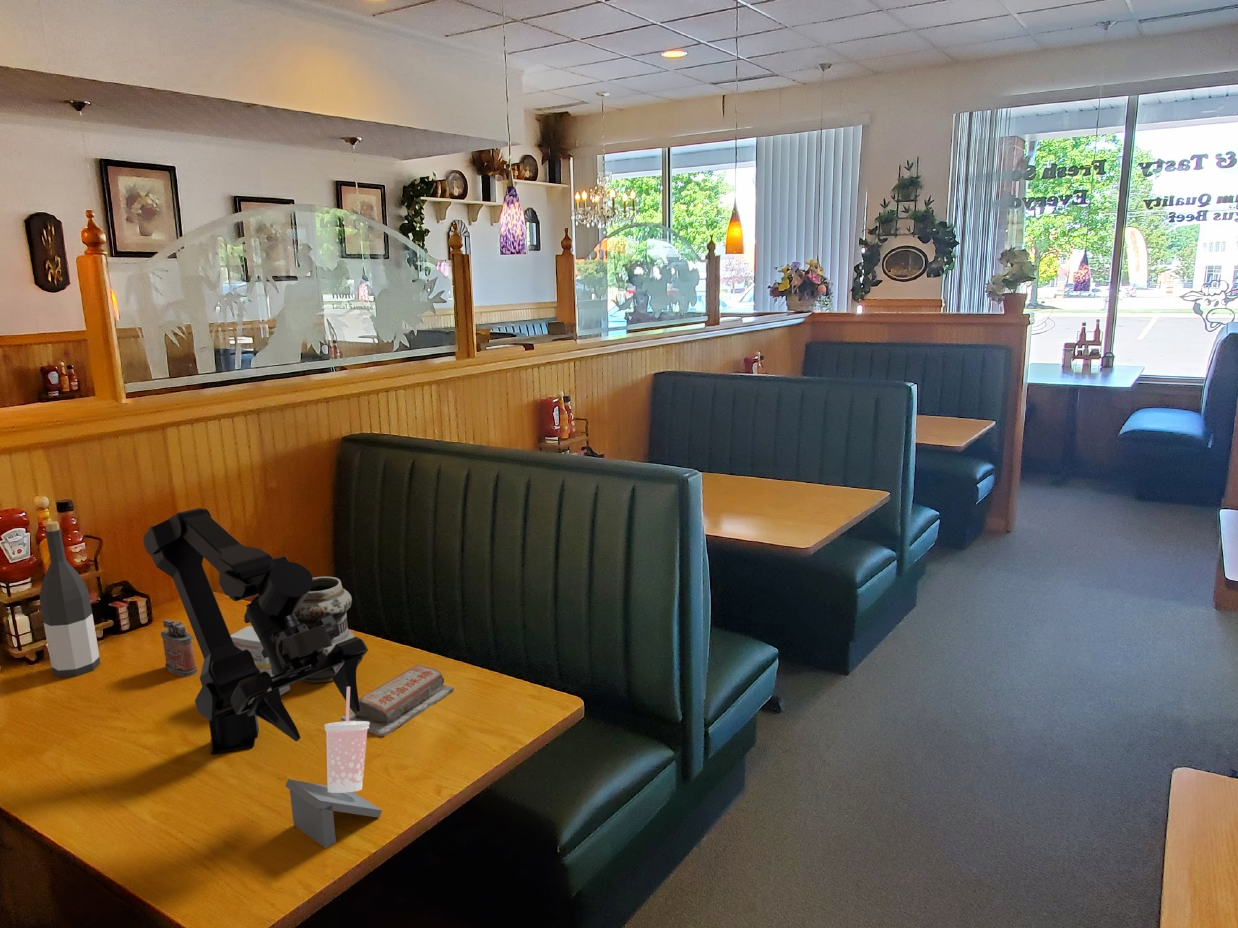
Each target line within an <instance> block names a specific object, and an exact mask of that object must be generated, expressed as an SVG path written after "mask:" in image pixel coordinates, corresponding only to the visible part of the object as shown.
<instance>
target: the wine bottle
mask: <svg viewBox="0 0 1238 928" xmlns="http://www.w3.org/2000/svg"><path fill="white" fill-rule="evenodd" d="M44 534H45V537H46V543H47V548H48V553H49V560H50V563H49V565H48V568H47V570H46V572H45V574H44V576H43V579H42V582H41V586H40V587H41V588H40V590H39V591H40V592H39V593H40V594H39V605H40V610H41V611H40V612H41V615H42V621H43V622H42V623H43V626H44V633H45V637H46V644H47V648H48V654H49V660H50V661H49V662H50V666H51V667H50V668H51V671H52V673H53V675H55V676H57V677H58V678H72V677H74V678H75V677H78V676H81V675H84V674H87V673H91V672H93V671H95V670H96V668H97V667H98V666H99V665H100V664H101V659H100V651H99V647H98V646H99V645H98V640H97V639H98V638H97V634H96V628H95V622H94V616H93V609H92V603H91V597H90V593H89V590H88V587H87V585H86V583H85V580H84V579H83V578H82V576H81V575H80V574H79V572H78V571H77V570H76V569H75V568H74V567H73V566H72V565H71V564H70V563H69V561H68V560H67V557H66V553H65V546H64V541H63V536H62V528H60V524H59V522H58V521H48V522H46V523H45V531H44Z"/></svg>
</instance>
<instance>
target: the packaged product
mask: <svg viewBox="0 0 1238 928" xmlns="http://www.w3.org/2000/svg"><path fill="white" fill-rule="evenodd" d="M444 683H445V678H444V676H443V673H442V671H440V670H439V669H438V668H436V667H435V668H434V667H429V666H428V665H423V664H416V665H414V666H412V667H411V668H409V669H407V670H406V671H404V672H402V673H401V674H399V675H396V677H394V678H392V679H390V680H388V681H387V682H385V683H383V684H381V685H380V686H378V687H377V688H375V689H373V690H372V691H369V693H367V694H365V695H363V696H361V697H358V699H359V706H360V712H359V713H358V714H355V713H354V712H353V711H352V710H351V711H349V721H367V722H370V725H369V728H368V729H367V733H370V734H372V735H375V736H378V735H379V736H378V737H383V736H385V737H386V735H387V736H388V735H390V734H391V733H393V732H394V731H395V730H397V729H398V728H399V727H401V726H403V725H405V724H406V723H407V722H409V721H411V720H412V719H414V718H415V717H417V716H418V715H420V714H421V713H422V714H423V712H424V711H425V712H426V711H427V710H428V709H430V708H431V707H433V705H435V704H436V703H438V702H439V701H441V700H442V699H443V698H445V697H447V696H448V695H450V694H451V693H453V692H454V691H455V687H452V686H450V685H445V684H444ZM429 707H430V708H429ZM426 709H427V710H426ZM340 720H341V721H346V714H345V715H342V716H341V717H340ZM389 733H390V734H389Z"/></svg>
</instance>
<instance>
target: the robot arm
mask: <svg viewBox="0 0 1238 928" xmlns="http://www.w3.org/2000/svg"><path fill="white" fill-rule="evenodd" d="M143 546H144V549H145V551H146V553H147V554H148V555H150V556H151V559H152V560H153V563H154V565H155V567H156V568H157V569H159V570H160V571H162V572H163V573H165V574H166V575H168V576H169V577H171V578H172V580H173V583H174V585H175V589H176V590H177V592H178V595H179V598H180V601H181V603H182V605H183V607H184V611H185V612H186V616H187V619H188V620H189V623H190V627H191V628H192V631H193V634H194V636H195V638H196V642H197V644H198V647H199V650H200V652H201V654H202V657H203V663H202V667H201V670H200V674H199V675H200V677H199V681H200V683H201V688H200V690H199V692H198V694H197V695H196V698H195V699H194V703H195V708H196V710H197V711H196V712H197V713H198V714H199V715H201V716H202V717H203V718H205V719H207V721H208V725H209V732H210V738H211V739H210V741H211V747H210V754H212V755H215V754H220V753H221V754H222V753H226V752H227V753H228V752H233V751H238V750H244V749H250V748H253V747H255V743H256V739H257V738H258V737H259V733H260V726H259V720H258V717H259V718H260V719H262V720H263V721H265V722H267V723H269V724H271V725H272V726H273V727H276V728H277V729H278V730H279V731H281V732H282V733H283V734H285V735H286V736H287V737H289V738H290V739H291V740H293V741H295V742H299V741H300V739H301V735H300V733H299V730H298V728H297V725H296V724H295V722H294V720H293V718H292V717H291V715H290V713H289V712H288V710H287V708H286V706H285V705H284V702H283V701H282V697H281V696H282V695H280V691H279V689H280V688H283V687H285V686H288V685H290V686H291V685H292V684H295V683H297V682H300V681H302V680H303V679H305V678H308V677H310V676H313V675H315V674H318V673H320V672H323V671H325V670H328V669H329V671H330V672H332V673H334V674H336V675H335V676H334V678H333V681H332V682H334V684H335V686H336V688H337V690H338V691H339V693H340V694H341V696H342V697H343V699H344V701H345V702H346V695H347V687H350V708H349V710H351V711H353V712H354V713H355V714H358V713H359V712H360V706H359V694H358V693H359V692H358V685H357V668H358V667H359V664H361V662H362V661H363V658H364V656H365V655H366V654H367V653H368V651H369V648H368V646H367V645H366V644H367V643H365V641H364V640H363V639H362V638H359V637H357V636H355V637H354V638H351V639H348V640H346V641H343V642H340V643H338V644H336V645H335V646H334V648H333V649H332V650H331V652H330V653H329V655H327V656H325V657H322V658H319V659H318V655H320V654H322V652H323V651H324V650H323V648H327V647H330V646H332V643H331V640H330V639H332V638H334V637H337V636H339V635H340V631H339V628H338V625H337V623H336V621H335V620H334V618H333V617H332V615H330V616H327V617H324V618H322V619H319V620H317V621H316V628H313V629H310V630H309V629H308V627H307V625H306V624H305V623H302V624H300V623H299V622H298V620H297V618H296V616H295V614H294V613H295V612H296V611H297V610H298V609H299V607H300V605H301V604H302V602H303V600H304V599H305V597H306V596H307V594H308V592H309V591H310V589H311V587H312V584H313V578H314V577H313V576H312V573H311V571H310V570H309V569H308V568H306V567H304V566H303V565H302V564H300V563H297V562H294V561H289V559H288V557H287V556H286V555H283V556H279V557H276V558H273V556H272V555H271V554H269V553H267V552H266V551H264V550H262V549H260V548H258V547H253V546H246V545H243V544H241V543H240V542H239V541H238V540H237V539H236V538H235V537H234V536H232V535H231V533H229V532H228V531H227V530H226V529H225V528H224V527H223V526H221V525H220V524H219V523H218V522H217V521H216V520H215V519H213V518H212V515H211V513H210V511H209V509H207V508H205V507H204V508H201V507H199V508H198V507H197V508H193V509H188V510H184V511H179V512H176V513H175V514H173V515H171V516H170V517H169V518H168V519H166V520H164V521H162V522H160V523H158V524H154V525H153V524H152V525H150V526H149V528H148V530H147V532H146V533H144V535H143ZM204 559H205V560H206V561H207V562H208V564H210V565H212V567H213V568H215V569H216V570H217V572H218V573H219V575H218V576H219V577H218V585H219V586H220V588H221V590H222V592H223V593H224V594H225V596H228V597H229V599H231V600H232V601H234V602H238V601H239V602H240V601H243V600H245V599H249V598H253V597H254V598H253V599H252V600H251V601H250V603H247V604H246V610H245V613H244V616H243V620H244V621H243V622H244V623H245V624H249V623H250V624H251V625H250V626H252V627H253V629H254V630H255V632H256V634H257V636H258V638H259V640H260V642H261V644H262V646H263V648H264V649H263V651H262V652H261V653H262V655H263V657H264V658H267V657H268V658H269V660H270V662H271V664H272V666H273V667H274V669H275V671H276V674H275V676H273V677H271V676H270V674H269V673H267V672H265V671H264V672H260V670H259V669H258V668H257V667H256V665H255V663H254V660H253V657H252V654H251V652H249V651H248V650H247V649H246V650H243V651H242V650H241V649H239V648H238V647H237V646H235V645H234V643H233V641H232V638H231V636H230V635H231V634H230V631H229V628H228V626H227V624H226V621H225V618H224V616H223V614H222V611H221V608H220V606H219V604H218V601H217V598H216V596H215V593H214V591H213V589H212V586H211V583H210V581H209V578H208V576H207V574H206V570H205V569H204V565H203V561H204ZM255 596H256V597H255ZM311 668H313V669H311ZM309 669H311V670H309Z"/></svg>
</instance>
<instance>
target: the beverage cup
mask: <svg viewBox="0 0 1238 928" xmlns="http://www.w3.org/2000/svg"><path fill="white" fill-rule="evenodd" d="M349 712H350V687H347V695H346V701H345V715H346V721H342V720H341V721H338V722H337V721H335V722H330V723H329V722H328V723H325V724H324V731H325V732H326V734H325V735H326V774H327V779H326V781H327V786H328V792H331V793H346V792H354V793H355V792H359V791H361V790H362V789H363V784H364V783H363V782H364V771H365V760H366V749H367V741H368V740H367V739H368V738H367V737H368V732H367V729H368V728H369V725H370V722H367V721H349Z"/></svg>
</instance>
